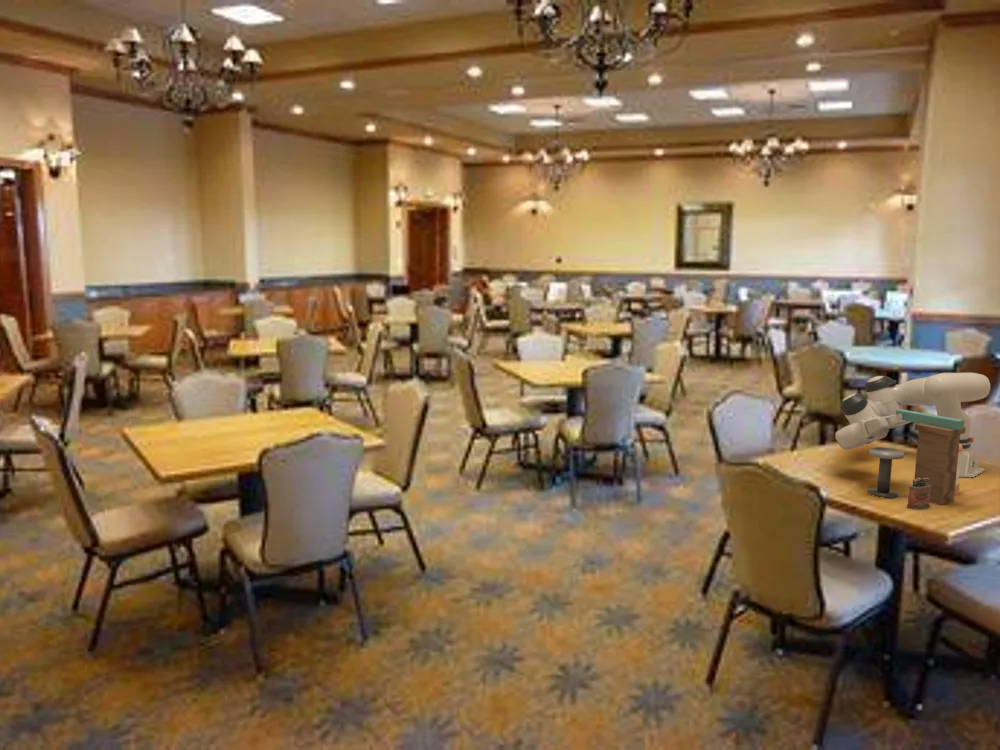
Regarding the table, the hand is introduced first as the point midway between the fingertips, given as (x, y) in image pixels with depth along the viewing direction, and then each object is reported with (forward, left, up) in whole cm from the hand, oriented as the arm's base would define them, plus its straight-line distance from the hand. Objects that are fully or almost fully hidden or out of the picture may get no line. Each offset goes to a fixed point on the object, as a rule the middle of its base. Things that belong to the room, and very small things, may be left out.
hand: (908, 414), depth 295 cm
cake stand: (+9, -2, -28) cm, 29 cm away
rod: (0, +7, -2) cm, 7 cm away
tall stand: (0, +11, -28) cm, 30 cm away
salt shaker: (-13, +9, -28) cm, 32 cm away
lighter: (+13, +13, -28) cm, 34 cm away
